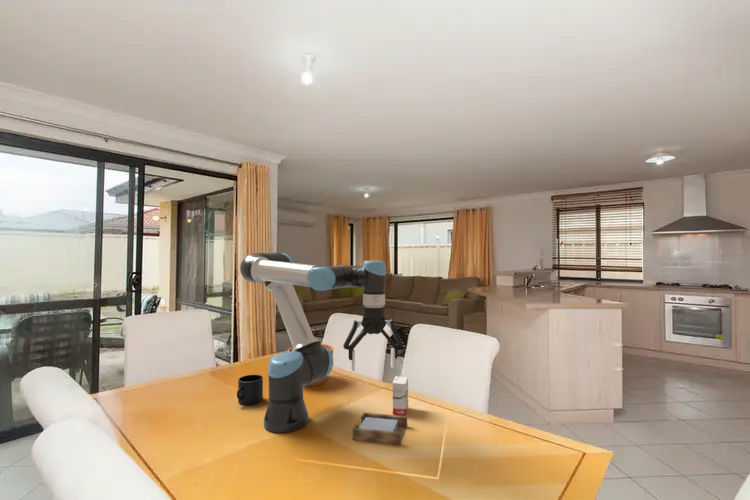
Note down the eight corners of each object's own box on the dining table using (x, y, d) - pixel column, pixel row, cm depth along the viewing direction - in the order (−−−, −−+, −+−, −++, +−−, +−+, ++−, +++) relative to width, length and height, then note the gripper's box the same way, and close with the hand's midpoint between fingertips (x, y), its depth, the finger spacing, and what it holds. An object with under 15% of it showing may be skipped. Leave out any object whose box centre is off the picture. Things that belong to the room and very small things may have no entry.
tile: (358, 437, 119) (358, 428, 119) (365, 424, 128) (365, 416, 128) (392, 441, 116) (392, 432, 116) (397, 427, 125) (397, 420, 125)
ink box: (405, 417, 135) (405, 384, 135) (392, 416, 136) (391, 383, 136) (408, 407, 143) (408, 376, 143) (395, 406, 144) (395, 375, 144)
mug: (228, 405, 147) (227, 382, 147) (250, 395, 158) (250, 373, 158) (246, 409, 143) (246, 385, 143) (267, 398, 154) (267, 376, 154)
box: (352, 441, 117) (352, 429, 117) (364, 423, 130) (364, 412, 130) (400, 447, 114) (400, 434, 114) (407, 427, 126) (407, 416, 126)
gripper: (337, 308, 122) (337, 373, 122) (412, 307, 126) (411, 370, 126) (336, 304, 129) (335, 366, 129) (406, 304, 134) (405, 363, 134)
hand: (373, 368), depth 128 cm, fingers open, 13 cm apart
